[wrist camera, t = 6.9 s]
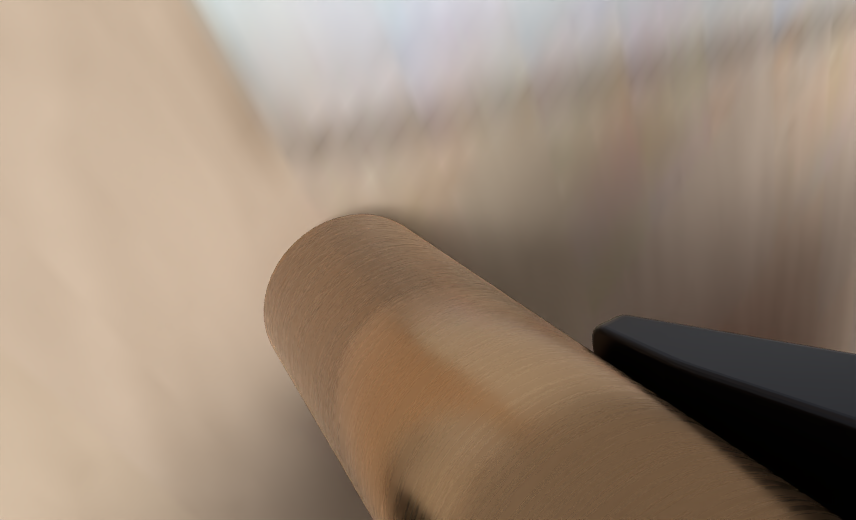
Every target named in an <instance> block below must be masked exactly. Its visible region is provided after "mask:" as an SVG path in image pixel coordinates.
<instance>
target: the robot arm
mask: <svg viewBox="0 0 856 520" xmlns="http://www.w3.org/2000/svg"><path fill="white" fill-rule="evenodd" d="M592 342H593V351H594V353H595V354H596V355H598V356H599V357H601V358H602V359H604V360H605V361H607V362H608V363H610V364H611V365H613V366H614V367H616V368H617V369H619V370H620V371H622V372H623V373H625V374H626V375H628V376H629V377H631V378H632V379H634V380H635V381H637V382H638V383H640V384H641V385H643V386H644V387H646V388H647V389H649V390H650V391H651V392H653V393H654V394H656V395H657V396H659V397H660V398H662V399H663V400H665V401H666V402H668V403H669V404H671V405H672V406H674V407H675V408H677V409H678V410H680V411H681V412H683V413H684V414H686V415H687V416H689V417H690V418H692V419H693V420H695V421H696V422H698V423H699V424H701V425H702V426H704V427H705V428H707V429H708V430H710V431H711V432H713V433H714V434H716V435H717V436H719V437H720V438H722V439H723V440H725V441H726V442H728V443H729V444H731V445H732V446H734V447H735V448H737V449H738V450H740V451H741V452H743V453H744V454H746V455H747V456H749V457H750V458H752V459H753V460H755V461H756V462H758V463H759V464H761V465H762V466H764V467H765V468H767V469H768V470H770V471H771V472H773V473H774V474H776V475H777V476H779V477H780V478H782V479H783V480H785V481H786V482H788V483H789V484H791V485H792V486H794V487H795V488H797V489H798V490H800V491H801V492H803V493H804V494H806V495H807V496H809V497H810V498H812V499H813V500H815V501H816V502H818V503H819V504H821V505H822V506H824V507H825V508H827V509H828V510H830V511H831V512H833V513H834V514H836V515H837V516H839V517H840V518H842V519H843V520H856V354H853V353H847V352H841V351H835V350H829V349H823V348H817V347H811V346H806V345H800V344H794V343H788V342H782V341H776V340H770V339H764V338H758V337H752V336H746V335H741V334H735V333H729V332H723V331H717V330H711V329H705V328H699V327H693V326H687V325H682V324H676V323H670V322H664V321H658V320H652V319H646V318H640V317H634V316H628V315H620V316H617V317H615V318H613V319H611V320H609V321H607V322H605V323H603V324H600V325H598V326H597V327H596V328H595V329H594V331H593V334H592Z"/></svg>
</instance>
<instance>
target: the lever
mask: <svg viewBox="0 0 856 520" xmlns="http://www.w3.org/2000/svg"><path fill="white" fill-rule="evenodd" d="M264 322H265V327H266V332H267V335H268V338H269V340H270V343H271V345H272V347H273V348H274V350H275V352H276V354H277V355H278V357H279V359H280V361H281V362H282V364H283V366H284V368H285V369H286V371H287V373H288V374H289V376H290V378H291V380H292V381H293V383H294V385H295V386H296V388H297V390H298V392H299V393H300V395H301V397H302V398H303V400H304V402H305V404H306V405H307V407H308V409H309V410H310V412H311V414H312V416H313V417H314V419H315V421H316V422H317V424H318V426H319V428H320V429H321V431H322V433H323V434H324V436H325V438H326V440H327V441H328V443H329V445H330V447H331V448H332V450H333V452H334V453H335V455H336V457H337V459H338V460H339V462H340V464H341V465H342V467H343V469H344V471H345V472H346V474H347V476H348V477H349V479H350V481H351V483H352V484H353V486H354V488H355V489H356V491H357V493H358V495H359V496H360V498H361V500H362V501H363V503H364V505H365V507H366V508H367V510H368V512H369V513H370V515H371V517H372V519H373V520H843V519H842V518H840V517H839V516H837V515H836V514H834V513H833V512H831V511H830V510H828V509H827V508H825V507H824V506H822V505H821V504H819V503H818V502H816V501H815V500H813V499H812V498H810V497H809V496H807V495H806V494H804V493H803V492H801V491H800V490H798V489H797V488H795V487H794V486H792V485H791V484H789V483H788V482H786V481H785V480H783V479H782V478H780V477H779V476H777V475H776V474H774V473H773V472H771V471H770V470H768V469H767V468H765V467H764V466H762V465H761V464H759V463H758V462H756V461H755V460H753V459H752V458H750V457H749V456H747V455H746V454H744V453H743V452H741V451H740V450H738V449H737V448H735V447H734V446H732V445H731V444H729V443H728V442H726V441H725V440H723V439H722V438H720V437H719V436H717V435H716V434H714V433H713V432H711V431H710V430H708V429H707V428H705V427H704V426H702V425H701V424H699V423H698V422H696V421H695V420H693V419H692V418H690V417H689V416H687V415H686V414H684V413H683V412H681V411H680V410H678V409H677V408H675V407H674V406H672V405H671V404H669V403H668V402H666V401H665V400H663V399H662V398H660V397H659V396H657V395H656V394H654V393H653V392H651V391H650V390H649V389H647V388H646V387H644V386H643V385H641V384H640V383H638V382H637V381H635V380H634V379H632V378H631V377H629V376H628V375H626V374H625V373H623V372H622V371H620V370H619V369H617V368H616V367H614V366H613V365H611V364H610V363H608V362H607V361H605V360H604V359H602V358H601V357H599V356H598V355H596V354H595V353H593V352H592V351H590V350H589V349H587V348H586V347H584V346H583V345H581V344H580V343H578V342H577V341H575V340H574V339H572V338H571V337H569V336H568V335H566V334H565V333H563V332H562V331H560V330H559V329H557V328H556V327H554V326H553V325H551V324H550V323H548V322H547V321H545V320H544V319H542V318H541V317H539V316H538V315H536V314H535V313H533V312H532V311H530V310H529V309H527V308H526V307H524V306H523V305H521V304H520V303H518V302H517V301H515V300H514V299H512V298H511V297H509V296H508V295H506V294H505V293H503V292H502V291H500V290H499V289H497V288H496V287H494V286H493V285H491V284H490V283H488V282H487V281H485V280H484V279H482V278H481V277H479V276H478V275H476V274H475V273H473V272H472V271H470V270H469V269H467V268H466V267H464V266H463V265H461V264H460V263H458V262H457V261H455V260H454V259H452V258H451V257H449V256H448V255H446V254H445V253H443V252H442V251H440V250H439V249H437V248H436V247H434V246H433V245H431V244H430V243H428V242H427V241H425V240H424V239H422V238H421V237H419V236H418V235H416V234H415V233H413V232H412V231H410V230H409V229H407V228H406V227H404V226H403V225H401V224H399V223H397V222H395V221H393V220H391V219H388V218H385V217H381V216H376V215H366V214H358V215H348V216H343V217H339V218H335V219H333V220H330V221H327V222H325V223H323V224H321V225H319V226H317V227H315V228H313V229H312V230H310V231H309V232H307V233H306V234H304V235H303V236H302V237H301V238H300V239H298V240H297V241H296V242H295V243H294V244H293V245H292V246H291V247H290V248H289V249H288V251H287V252H286V253H285V254H284V256H283V257H282V258H281V260H280V261H279V263H278V264H277V266H276V268H275V270H274V272H273V274H272V276H271V279H270V281H269V284H268V287H267V291H266V295H265V302H264Z"/></svg>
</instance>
